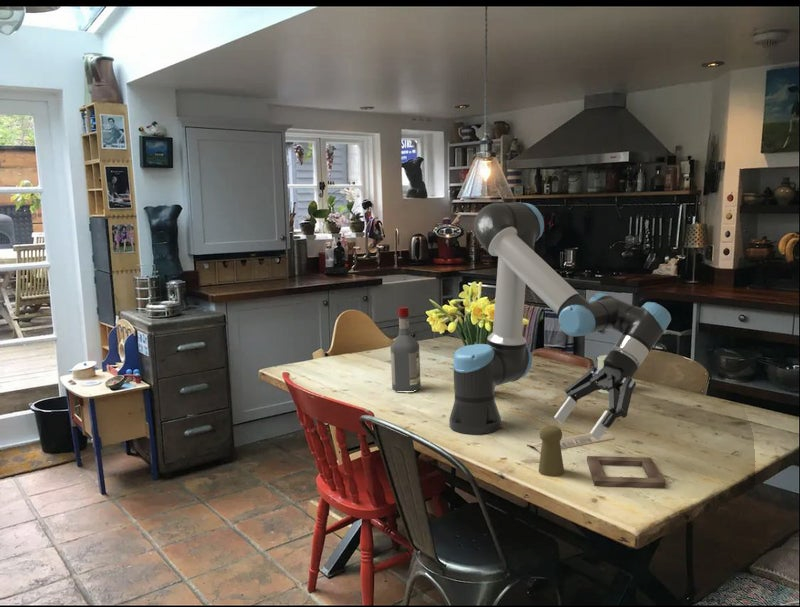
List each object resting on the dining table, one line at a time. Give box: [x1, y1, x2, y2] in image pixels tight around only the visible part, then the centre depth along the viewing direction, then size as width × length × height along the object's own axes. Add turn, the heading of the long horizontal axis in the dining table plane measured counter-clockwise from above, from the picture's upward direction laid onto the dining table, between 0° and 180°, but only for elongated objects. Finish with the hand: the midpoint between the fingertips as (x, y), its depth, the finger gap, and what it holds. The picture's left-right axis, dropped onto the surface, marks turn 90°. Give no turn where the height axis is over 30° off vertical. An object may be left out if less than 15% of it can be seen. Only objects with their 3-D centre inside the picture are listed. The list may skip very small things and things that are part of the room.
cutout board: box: [586, 455, 666, 489], centre depth 149 cm, size 15×15×1 cm
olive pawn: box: [538, 424, 565, 477], centre depth 152 cm, size 6×6×11 cm
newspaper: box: [526, 431, 615, 454], centre depth 170 cm, size 24×7×2 cm, turn 111°
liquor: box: [390, 306, 422, 391], centre depth 228 cm, size 9×9×30 cm
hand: (575, 428), depth 152 cm, fingers open, 13 cm apart
